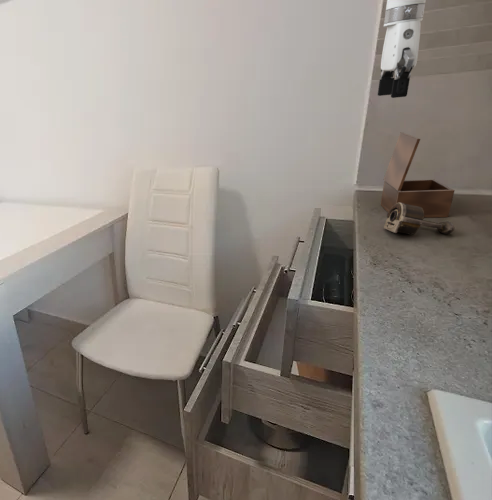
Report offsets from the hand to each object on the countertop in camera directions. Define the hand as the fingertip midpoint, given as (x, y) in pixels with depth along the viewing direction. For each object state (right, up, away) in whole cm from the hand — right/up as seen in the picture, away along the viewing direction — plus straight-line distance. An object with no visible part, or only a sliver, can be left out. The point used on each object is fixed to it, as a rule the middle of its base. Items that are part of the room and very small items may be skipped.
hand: (391, 96), depth 92 cm
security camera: (-1, -35, -10) cm, 37 cm away
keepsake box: (+7, -29, +2) cm, 30 cm away
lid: (+1, -17, -2) cm, 17 cm away
